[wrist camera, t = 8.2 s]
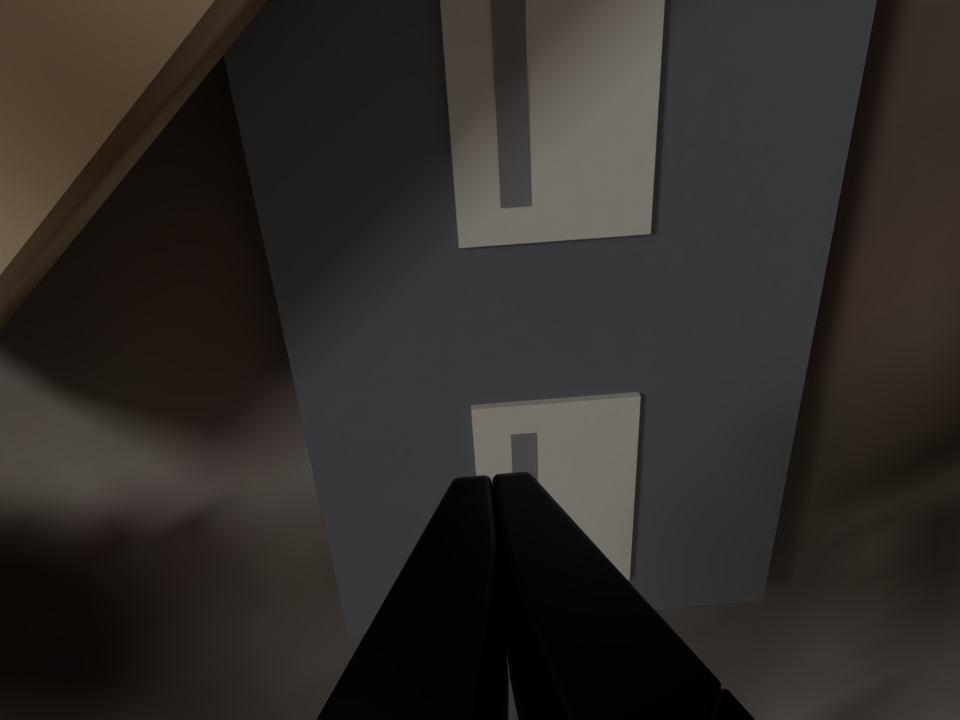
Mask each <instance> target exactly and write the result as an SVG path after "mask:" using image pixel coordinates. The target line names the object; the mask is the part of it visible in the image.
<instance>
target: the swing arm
mask: <svg viewBox="0 0 960 720" xmlns="http://www.w3.org/2000/svg"><path fill="white" fill-rule="evenodd" d="M266 2H267V0H0V330H1V329H2V328H3V326H4V325H5V324H6V323H7V322H8V320H9V319H10V318H11V317H12V315H13V314H14V313H15V312H16V310H17V309H18V308H19V307H20V305H21V304H22V303H23V302H24V301H25V299H26V298H27V297H28V296H29V294H30V293H31V292H32V291H33V289H34V288H35V287H36V286H37V284H38V283H39V282H40V281H41V280H42V278H43V277H44V276H45V275H46V273H47V272H48V271H49V270H50V268H51V267H52V266H53V265H54V263H55V262H56V261H57V260H58V259H59V257H60V256H61V255H62V254H63V252H64V251H65V250H66V249H67V247H68V246H69V245H70V244H71V242H72V241H73V240H74V239H75V238H76V236H77V235H78V234H79V233H80V231H81V230H82V229H83V228H84V226H85V225H86V224H87V223H88V221H89V220H90V219H91V218H92V217H93V215H94V214H95V213H96V212H97V210H98V209H99V208H100V207H101V205H102V204H103V203H104V202H105V200H106V199H107V198H108V197H109V196H110V194H111V193H112V192H113V191H114V189H115V188H116V187H117V186H118V184H119V183H120V182H121V181H122V179H123V178H124V177H125V176H126V175H127V173H128V172H129V171H130V170H131V168H132V167H133V166H134V165H135V163H136V162H137V161H138V160H139V158H140V157H141V156H142V155H143V154H144V152H145V151H146V150H147V149H148V147H149V146H150V145H151V144H152V142H153V141H154V140H155V139H156V137H157V136H158V135H159V134H160V133H161V131H162V130H163V129H164V128H165V126H166V125H167V124H168V123H169V121H170V120H171V119H172V118H173V117H174V115H175V114H176V113H177V112H178V110H179V109H180V108H181V107H182V105H183V104H184V103H185V102H186V100H187V99H188V98H189V97H190V96H191V94H192V93H193V92H194V91H195V89H196V88H197V87H198V86H199V84H200V83H201V82H202V81H203V79H204V78H205V77H206V76H207V75H208V73H209V72H210V71H211V70H212V68H213V67H214V66H215V65H216V63H217V62H218V61H219V60H220V58H221V57H222V56H223V55H224V54H225V52H226V51H227V50H228V49H229V47H230V46H231V45H232V44H233V42H234V41H235V40H236V39H237V37H238V36H239V35H240V34H241V33H242V31H243V30H244V29H245V28H246V26H247V25H248V24H249V23H250V21H251V20H252V19H253V18H254V16H255V15H256V14H257V13H258V12H259V10H260V9H261V8H262V7H263V5H264V4H265V3H266Z"/></svg>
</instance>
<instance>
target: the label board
mask: <svg viewBox="0 0 960 720" xmlns="http://www.w3.org/2000/svg"><path fill="white" fill-rule="evenodd" d="M876 3H877V0H267V2H266V3H265V4H264V5H263V7H262V8H261V9H260V10H259V12H258V13H257V14H256V15H255V16H254V18H253V19H252V20H251V21H250V23H249V24H248V25H247V26H246V28H245V29H244V30H243V31H242V33H241V34H240V35H239V36H238V37H237V39H236V40H235V41H234V42H233V44H232V45H231V46H230V47H229V49H228V50H227V51H226V52H225V54H224V55H223V56H224V60H225V65H226V70H227V74H228V79H229V84H230V88H231V93H232V98H233V102H234V107H235V112H236V116H237V121H238V126H239V130H240V135H241V140H242V144H243V149H244V153H245V158H246V163H247V167H248V172H249V177H250V181H251V186H252V191H253V195H254V200H255V205H256V209H257V214H258V219H259V223H260V228H261V233H262V237H263V242H264V246H265V251H266V256H267V260H268V265H269V270H270V274H271V279H272V284H273V288H274V293H275V298H276V302H277V307H278V312H279V316H280V321H281V325H282V330H283V335H284V339H285V344H286V349H287V353H288V358H289V363H290V367H291V372H292V377H293V381H294V386H295V391H296V395H297V400H298V405H299V409H300V414H301V418H302V423H303V428H304V432H305V437H306V442H307V446H308V451H309V456H310V460H311V465H312V470H313V474H314V479H315V484H316V488H317V493H318V498H319V502H320V507H321V511H322V516H323V521H324V525H325V530H326V535H327V539H328V544H329V549H330V553H331V558H332V563H333V567H334V572H335V577H336V581H337V586H338V590H339V595H340V600H341V604H342V609H343V614H344V618H345V623H346V628H347V632H348V636H350V635H362V634H365V633H366V632H367V630H368V628H369V626H370V625H371V623H372V621H373V619H374V618H375V616H376V614H377V612H378V610H379V609H380V607H381V605H382V603H383V602H384V600H385V598H386V596H387V595H388V593H389V591H390V589H391V588H392V586H393V584H394V582H395V581H396V579H397V577H398V575H399V573H400V572H401V570H402V568H403V566H404V565H405V563H406V561H407V559H408V558H409V556H410V554H411V552H412V551H413V549H414V547H415V545H416V544H417V542H418V540H419V538H420V536H421V535H422V533H423V531H424V529H425V528H426V526H427V524H428V522H429V521H430V519H431V517H432V515H433V514H434V512H435V510H436V508H437V507H438V505H439V503H440V501H441V500H442V498H443V496H444V494H445V492H446V491H447V489H448V487H449V485H450V484H451V482H452V481H453V480H454V479H455V478H458V477H467V476H479V475H487V476H489V477H490V478H491V481H492V479H493V477H494V476H495V475H496V474H502V473H514V472H528V473H530V474H531V475H532V476H533V477H534V478H535V479H536V480H537V481H538V482H539V483H540V484H541V485H542V487H543V488H544V489H545V490H546V491H547V492H548V493H549V494H550V495H551V496H552V497H553V499H554V500H555V501H556V502H557V503H558V504H559V505H560V506H561V507H562V508H563V510H564V511H565V512H566V513H567V514H568V515H569V516H570V517H571V518H572V519H573V521H574V522H575V523H576V524H577V525H578V526H579V527H580V528H581V529H582V530H583V532H584V533H585V534H586V535H587V536H588V537H589V538H590V539H591V540H592V541H593V543H594V544H595V545H596V546H597V547H598V548H599V549H600V550H601V551H602V552H603V554H604V555H605V556H606V557H607V558H608V559H609V560H610V561H611V562H612V563H613V564H614V566H615V567H616V568H617V569H618V570H619V571H620V572H621V573H622V574H623V575H624V577H625V578H626V579H627V580H628V581H629V582H630V583H631V584H632V585H633V586H634V588H635V589H636V590H637V591H638V592H639V593H640V594H641V595H642V596H643V597H644V599H645V600H646V601H647V602H648V603H649V604H650V605H651V606H652V607H653V608H654V610H662V609H673V608H685V607H697V606H709V605H721V604H733V603H745V602H757V601H763V598H764V593H765V588H766V582H767V577H768V572H769V566H770V561H771V556H772V551H773V545H774V540H775V535H776V530H777V524H778V519H779V514H780V509H781V503H782V498H783V493H784V487H785V482H786V477H787V472H788V466H789V461H790V456H791V451H792V445H793V440H794V435H795V430H796V424H797V419H798V414H799V409H800V403H801V398H802V393H803V387H804V382H805V377H806V372H807V366H808V361H809V356H810V351H811V345H812V340H813V335H814V330H815V324H816V319H817V314H818V308H819V303H820V298H821V293H822V287H823V282H824V277H825V272H826V266H827V261H828V256H829V251H830V245H831V240H832V235H833V230H834V224H835V219H836V214H837V208H838V203H839V198H840V193H841V187H842V182H843V177H844V172H845V166H846V161H847V156H848V151H849V145H850V140H851V135H852V129H853V124H854V119H855V114H856V108H857V103H858V98H859V93H860V87H861V82H862V77H863V72H864V66H865V61H866V56H867V51H868V45H869V40H870V35H871V29H872V24H873V19H874V14H875V8H876Z"/></svg>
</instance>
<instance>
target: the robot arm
mask: <svg viewBox="0 0 960 720" xmlns="http://www.w3.org/2000/svg"><path fill="white" fill-rule="evenodd" d="M506 647H507V650H506ZM507 657H508V665H509V673H510V680H511V685H512V691H513V696H514V701H515V706H516V710H517V715H518V719H519V720H755V719H754V718H753V717H752V716H751V715H750V714H749V712H748V711H747V710H746V709H745V708H744V707H743V706H742V705H741V704H740V702H739V701H738V700H737V699H736V698H735V697H734V696H733V695H732V694H731V692H730V691H729V690H727V689H721V683H720V681H719V680H718V679H717V678H716V677H715V675H714V674H713V673H712V672H711V671H710V670H709V669H708V668H707V667H706V666H705V664H704V663H703V662H702V661H701V660H700V659H699V658H698V657H697V656H696V655H695V653H694V652H693V651H692V650H691V649H690V648H689V647H688V646H687V645H686V644H685V642H684V641H683V640H682V639H681V638H680V637H679V636H678V635H677V634H676V633H675V631H674V630H673V629H672V628H671V627H670V626H669V625H668V624H667V623H666V622H665V621H664V619H663V618H662V617H661V616H660V615H659V614H658V613H657V612H656V611H655V610H654V608H653V607H652V606H651V605H650V604H649V603H648V602H647V601H646V600H645V599H644V597H643V596H642V595H641V594H640V593H639V592H638V591H637V590H636V589H635V588H634V586H633V585H632V584H631V583H630V582H629V581H628V580H627V579H626V578H625V577H624V575H623V574H622V573H621V572H620V571H619V570H618V569H617V568H616V567H615V566H614V564H613V563H612V562H611V561H610V560H609V559H608V558H607V557H606V556H605V555H604V554H603V552H602V551H601V550H600V549H599V548H598V547H597V546H596V545H595V544H594V543H593V541H592V540H591V539H590V538H589V537H588V536H587V535H586V534H585V533H584V532H583V530H582V529H581V528H580V527H579V526H578V525H577V524H576V523H575V522H574V521H573V519H572V518H571V517H570V516H569V515H568V514H567V513H566V512H565V511H564V510H563V508H562V507H561V506H560V505H559V504H558V503H557V502H556V501H555V500H554V499H553V497H552V496H551V495H550V494H549V493H548V492H547V491H546V490H545V489H544V488H543V487H542V485H541V484H540V483H539V482H538V481H537V480H536V479H535V478H534V477H533V476H532V475H531V474H530V473H528V472H514V473H502V474H496V475H495V476H494V477H493V479H492V481H491V478H490V477H489V476H487V475H479V476H467V477H458V478H455V479H454V480H453V481H452V482H451V484H450V485H449V487H448V489H447V491H446V492H445V494H444V496H443V498H442V500H441V501H440V503H439V505H438V507H437V508H436V510H435V512H434V514H433V515H432V517H431V519H430V521H429V522H428V524H427V526H426V528H425V529H424V531H423V533H422V535H421V536H420V538H419V540H418V542H417V544H416V545H415V547H414V549H413V551H412V552H411V554H410V556H409V558H408V559H407V561H406V563H405V565H404V566H403V568H402V570H401V572H400V573H399V575H398V577H397V579H396V581H395V582H394V584H393V586H392V588H391V589H390V591H389V593H388V595H387V596H386V598H385V600H384V602H383V603H382V605H381V607H380V609H379V610H378V612H377V614H376V616H375V618H374V619H373V621H372V623H371V625H370V626H369V628H368V630H367V632H366V633H365V635H364V637H363V639H362V640H361V642H360V644H359V646H358V647H357V649H356V651H355V653H354V654H353V656H352V658H351V660H350V662H349V663H348V665H347V667H346V669H345V670H344V672H343V674H342V676H341V677H340V679H339V681H338V683H337V684H336V686H335V688H334V690H333V691H332V693H331V695H330V697H329V699H328V700H327V702H326V704H325V706H324V707H323V709H322V711H321V713H320V714H319V716H318V718H317V720H508V703H509V702H508V666H507Z"/></svg>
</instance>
